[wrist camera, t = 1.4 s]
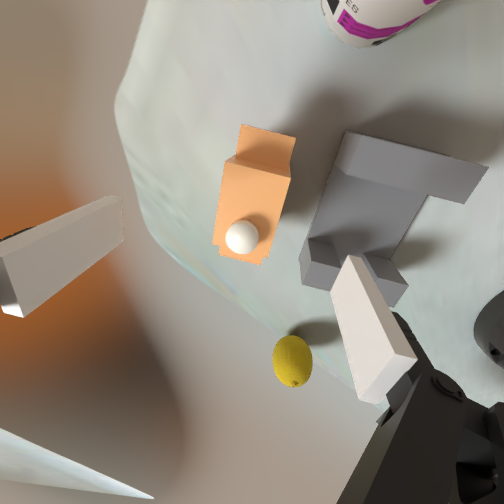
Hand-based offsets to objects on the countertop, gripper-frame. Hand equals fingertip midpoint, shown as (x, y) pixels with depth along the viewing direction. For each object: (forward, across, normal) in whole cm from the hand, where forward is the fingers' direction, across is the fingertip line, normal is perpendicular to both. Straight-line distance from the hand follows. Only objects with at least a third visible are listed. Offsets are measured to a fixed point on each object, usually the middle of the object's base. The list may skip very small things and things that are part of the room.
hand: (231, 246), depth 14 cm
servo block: (+15, 0, 0) cm, 15 cm away
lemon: (+15, -11, +22) cm, 28 cm away
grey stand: (+15, -12, 0) cm, 19 cm away
